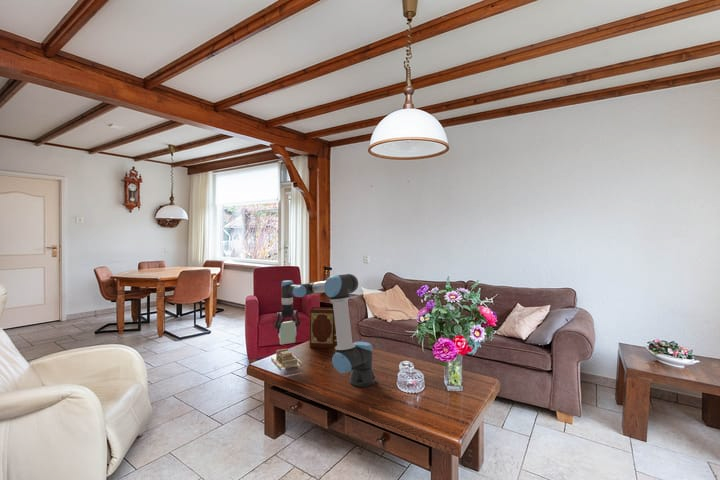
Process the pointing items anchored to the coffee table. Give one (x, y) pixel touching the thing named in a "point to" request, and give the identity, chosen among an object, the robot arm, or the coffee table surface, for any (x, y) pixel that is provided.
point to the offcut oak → (285, 354)
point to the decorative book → (322, 328)
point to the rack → (285, 360)
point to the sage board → (287, 332)
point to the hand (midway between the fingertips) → (287, 336)
